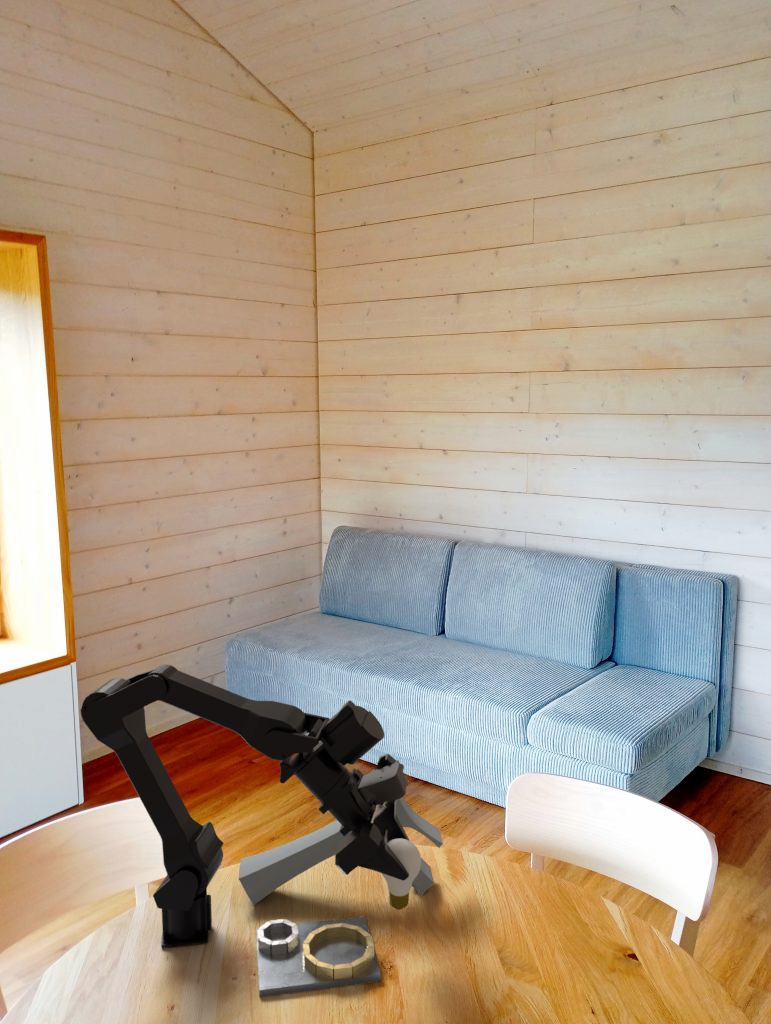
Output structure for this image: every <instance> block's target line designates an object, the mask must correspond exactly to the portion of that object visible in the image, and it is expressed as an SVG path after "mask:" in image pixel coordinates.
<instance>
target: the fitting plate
mask: <svg viewBox="0 0 771 1024" xmlns="http://www.w3.org/2000/svg"><path fill="white" fill-rule="evenodd" d="M255 942H256V943H255V944H256V945H255V946H256V960H257V961H256V962H257V976H258V978H257V979H258V993H259V994H258V995H259V998H265V997H271V996H272V997H273V996H280V995H288V994H297V993H303V992H310V991H311V992H312V991H320V990H326V989H328V990H329V989H334V988H340V987H341V988H342V987H350V986H356V985H357V986H359V985H367V984H374V983H375V984H376V983H381V982H382V981H381V979H382V974H381V971H380V968H379V964H378V959H377V957H376V952H375V944H374V941H373V937H372V935H371V934H370V930H369V927H368V922H367V919H366V916H364V915H363V916H358V917H357V916H356V917H350V918H349V917H347V918H340V919H339V918H338V919H329V920H322V921H321V920H320V921H313V922H312V921H311V922H303V923H295V922H292V921H290V920H289V919H285V918H281V919H271V920H269V921H266V922H265V923H263V924H262V925H261V926H260V927H258V928H255Z"/></svg>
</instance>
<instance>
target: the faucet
mask: <svg viewBox="0 0 771 1024" xmlns="http://www.w3.org/2000/svg"><path fill="white" fill-rule="evenodd" d="M396 814H397V817H398V819H399V821H400V823H401V825H402V827H403V828H410V829H413V830H415V831H416V832H418V833H420V834H421V835H422V836H424V837H426V838H427V839H428V840H429V841H431V842H432V844H434V845H435V846H436V847H437V848H439V849H440V847H442V846H443V845H444V842H443V839H442V835H441V832H440V828H438V827H437V826H435V825H434V824H433V823H431V822H429V821H428V820H426V819H425V818H424V817H422V816H421V815H420V814H419V813H418V812H416V811H415V810H414V809H413V808H412V807H411V806H410V805H409V803H408V802H407V800H406V799H405V798H404V796H403V797H402V798H400V799H398V800H397V801H396ZM340 828H341V824H340V823H339V822H338V820H337V819H336V820H334V821H333V822H331V823H329V824H327V825H325V826H323V827H321V828H319V829H317V830H314V831H313V832H310V833H308V834H305V835H303V836H301V837H299V838H297V839H294V840H291V841H290V842H286V843H284V844H282V845H279V846H277V847H274V848H271V849H268V850H266V851H262V852H260V853H256V854H252V855H249V856H245V857H241V859H240V864H239V869H238V880H239V883H240V884H241V886H242V888H243V890H244V892H245V893H246V895H247V897H248V899H249V900H250V902H251V904H252V905H253V906H255V905H257V904H258V903H260V901H261V900H263V899H264V898H265V897H267V896H268V895H270V894H271V893H272V892H274V891H275V890H277V889H278V888H280V887H281V886H283V885H285V884H287V883H288V882H289V881H291V880H292V879H294V878H296V877H297V876H299V875H301V874H302V873H304V872H306V871H307V870H310V869H311V868H313V867H314V866H316V865H318V864H320V863H322V862H324V861H325V860H328V859H329V858H332V857H335V855H336V852H337V850H338V847H339V844H340V842H341V841H342V840H343V839H345V838H346V837H347V836H348V835H349V834H350V833H352V831H350V832H349V833H348V834H347V835H345V836H343V835H342V834H341V832H340V831H339V830H340ZM434 884H435V880H434V876H433V872H432V867H431V866H430V865H429V863H427V862H426V861H425V860H424V858H422V857H421V868H420V871H419V873H418V875H417V876H416V878H415V879H414V880H413V882H412V886H411V888H414V889H415V890H416V891H417V894H418V895H419V896H422V895H423V894H424V893H426V891H428V890H429V889H430V888H431V886H432V887H433V885H434Z"/></svg>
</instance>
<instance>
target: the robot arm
mask: <svg viewBox="0 0 771 1024" xmlns="http://www.w3.org/2000/svg"><path fill="white" fill-rule="evenodd" d="M158 701H160V702H162V703H165V704H168V705H169V706H172V707H174V708H177V709H179V710H182V711H184V712H186V713H189V714H192V715H194V716H197V717H198V718H201V719H203V720H206V721H209V722H211V723H213V724H216V725H218V726H221V727H222V728H226V729H228V730H230V731H233V732H234V733H236V734H237V735H238V736H240V737H241V738H242V739H243V740H244V741H245V742H246V744H247V745H248V746H249V747H251V748H252V749H254V750H256V751H257V752H259V753H260V754H262V755H264V756H265V757H267V758H268V759H270V760H274V761H280V763H279V767H280V769H279V770H280V776H279V782H280V783H281V784H284V783H286V782H287V781H288V780H289V779H291V778H292V777H293V776H294V777H296V778H297V780H299V781H300V782H301V784H303V786H304V787H305V788H306V789H307V790H308V791H309V792H310V793H311V794H312V795H313V796H314V797H315V798H316V799H317V801H319V802H320V805H319V807H318V810H319V811H320V813H321V814H322V815H325V814H326V813H327V812H329V813H330V814H331V816H333V817H334V819H336V820H338V822H339V823H340V824H341V828H340V830H339V831H340V832H341V834H342V835H343V836H345V835H347V834H348V833H349V832H350V831H352V833H350V834H349V835H348V836H347V837H346V838H345V839H343V840H342V841H341V842H340V844H339V847H338V850H337V852H336V855H334V857H335V859H334V863H335V864H334V865H335V866H336V867H337V868H338V870H340V871H341V872H342V873H343V875H345V876H348V875H349V874H350V873H351V872H353V871H354V870H355V869H356V868H358V867H360V868H363V869H367V870H371V871H374V872H378V873H379V874H382V873H383V874H386V875H389V876H392V877H394V878H397V879H400V880H403V881H404V880H406V879H407V878H408V877H409V873H408V872H407V870H406V869H405V867H404V866H403V864H402V863H401V862H400V860H399V859H398V858H397V856H396V855H395V854H394V852H393V851H392V850H391V848H390V847H389V846H388V844H387V843H388V842H389V841H391V840H393V839H397V838H402V839H406V840H409V841H410V838H409V836H408V835H407V832H406V831H405V829H404V827H402V825H401V823H400V821H399V819H398V817H397V814H396V801H397V800H398V799H400V798H402V797H403V798H404V797H405V795H406V794H407V787H408V785H409V782H408V780H407V777H406V774H405V773H404V769H405V766H404V764H402V763H400V761H399V759H397V760H396V759H395V758H394V757H393V755H391V754H389V753H386V754H383V755H380V756H378V760H377V767H376V768H373V769H372V770H371V772H368V773H367V774H363V773H362V771H360V769H358V768H357V769H356V768H355V767H354V768H352V769H351V771H350V770H349V769H348V767H346V765H355V763H357V761H359V760H360V759H361V758H362V757H363V756H365V755H366V754H367V753H368V752H369V751H371V749H372V748H374V747H375V746H376V745H377V744H379V742H381V741H382V740H383V739H384V738H385V731H384V729H383V726H382V724H381V722H380V720H378V718H377V717H376V716H375V714H374V713H372V711H370V710H367V709H366V708H364V707H362V706H360V705H356V704H355V702H353V701H352V700H348V701H346V703H344V704H343V706H342V707H341V708H340V709H339V711H337V712H336V714H334V715H333V716H332V717H330V718H329V717H326V716H321V715H316V714H312V713H307V712H304V711H303V710H302V709H301V708H299V707H297V706H295V705H292V704H288V703H283V702H280V701H274V700H255V699H250V698H247V697H244V696H242V695H239V694H237V693H235V692H233V691H230V690H227V689H225V688H222V687H220V686H217V685H215V684H212V683H210V682H208V681H205V680H202V679H200V678H198V677H195V676H193V675H190V674H188V673H185V672H183V671H181V670H178V669H177V668H176V667H175V666H174V665H171V664H161V665H159V666H157V667H156V668H154V669H151V670H147V671H145V672H141V673H138V674H135V675H134V676H132V677H130V678H127V679H125V678H123V677H122V678H121V677H115V678H111V679H109V680H108V681H106V682H105V683H104V684H102V685H101V686H100V687H98V688H97V689H94V691H93V692H91V693H90V694H88V695H87V696H86V697H85V699H83V701H82V705H81V708H80V715H81V716H80V717H81V719H82V721H83V723H84V724H85V725H86V727H87V728H88V730H89V731H90V732H91V734H92V735H93V736H94V738H95V739H96V740H97V741H98V742H99V743H101V744H102V745H104V746H106V747H107V748H109V749H111V750H112V751H113V752H114V753H115V755H116V756H117V758H118V760H119V762H120V764H121V766H122V768H123V769H124V771H125V773H126V775H127V777H128V778H129V780H130V783H131V784H132V786H133V788H134V790H135V792H136V794H137V796H138V797H139V799H140V801H141V803H142V805H143V806H144V808H145V810H146V813H147V814H148V816H149V818H150V820H151V821H152V823H153V826H154V827H155V829H156V831H157V833H158V835H159V837H160V839H161V846H162V847H161V848H162V858H163V861H162V862H163V866H164V870H165V872H166V876H165V877H164V879H163V881H162V882H161V883H160V885H159V886H158V887H157V889H156V890H155V892H154V893H153V895H152V898H153V900H154V902H155V905H156V907H157V909H161V922H162V923H161V925H162V926H161V927H162V935H161V942H160V944H161V947H162V948H163V949H164V948H165V949H166V948H172V947H173V948H174V947H180V946H181V947H182V946H188V945H189V946H190V945H197V944H198V945H201V944H206V943H208V942H209V932H211V931H212V928H213V926H212V925H213V915H212V914H213V913H212V895H211V894H209V893H208V889H207V888H208V887H209V885H210V883H211V881H212V879H213V878H214V876H215V875H216V873H217V872H218V869H219V868H220V866H221V865H222V862H223V858H224V851H223V848H222V847H223V846H224V841H223V840H221V839H220V838H219V836H218V834H217V832H216V830H215V827H214V824H213V823H212V822H211V821H208V822H207V823H205V824H203V825H202V824H201V823H199V822H197V821H196V820H194V819H193V817H191V815H190V813H189V811H188V809H187V807H186V805H185V803H184V801H183V799H182V798H181V795H180V794H179V792H178V789H177V788H176V786H175V784H174V782H173V781H172V778H171V777H170V775H169V773H168V772H167V769H166V767H165V765H164V763H163V762H162V760H161V758H160V756H159V754H158V753H157V750H156V749H155V747H154V745H153V743H152V741H151V739H150V737H149V735H148V733H147V727H146V726H147V725H146V712H145V711H146V710H145V707H147V706H148V705H151V704H153V703H155V702H158ZM293 755H294V756H293ZM410 842H411V841H410Z"/></svg>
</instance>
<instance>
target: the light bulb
mask: <svg viewBox="0 0 771 1024" xmlns="http://www.w3.org/2000/svg"><path fill="white" fill-rule="evenodd" d="M409 840H410V839H409ZM409 840H406V839H402V838H397V839H393V840H391V841H389V842H388V843H387V844H388V846H389V847H390V848H391V850H392V851H393V852H394V854H395V855H396V856H397V858H398V859H399V860H400V862H401V863H402V864H403V866H404V867H405V869H406V870H407V872H408V873H409V877H408V878H407V879H406V880H404V881H403V880H400V879H397V878H394V877H392V876H389V875H386V874H383V873H381V876H383V878H384V880H385V882H386V884H387V889H388V894H389V905H390V906H391V907H392V908H394V909H396V910H399V911H400V910H402V909H405V908H406V907H408V905H409V899H410V891H411V888H412V882H413V880H414V879H415V878H416V876H417V875H418V873H419V871H420V868H421V858H422V857H421V853H420V851H419V849H418V847H417V845H415V844H414V843H413V842H412V841H409Z"/></svg>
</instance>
